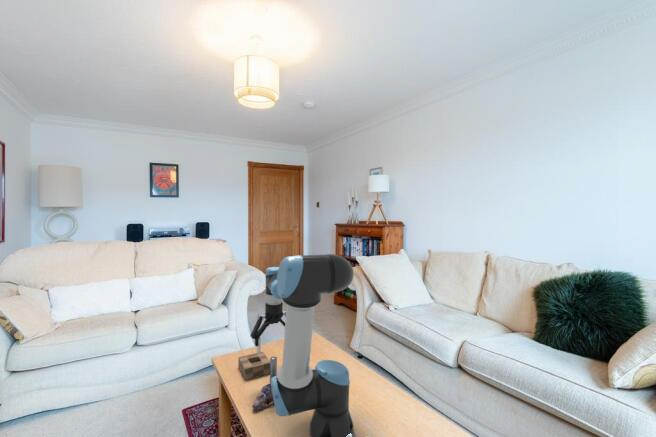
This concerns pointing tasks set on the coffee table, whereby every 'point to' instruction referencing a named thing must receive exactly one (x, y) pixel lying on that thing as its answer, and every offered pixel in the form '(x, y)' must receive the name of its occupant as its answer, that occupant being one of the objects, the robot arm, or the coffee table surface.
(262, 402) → the purple lumpy piece
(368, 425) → the coffee table surface
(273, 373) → the pin
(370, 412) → the coffee table surface
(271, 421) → the coffee table surface
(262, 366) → the socket block
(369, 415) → the coffee table surface
